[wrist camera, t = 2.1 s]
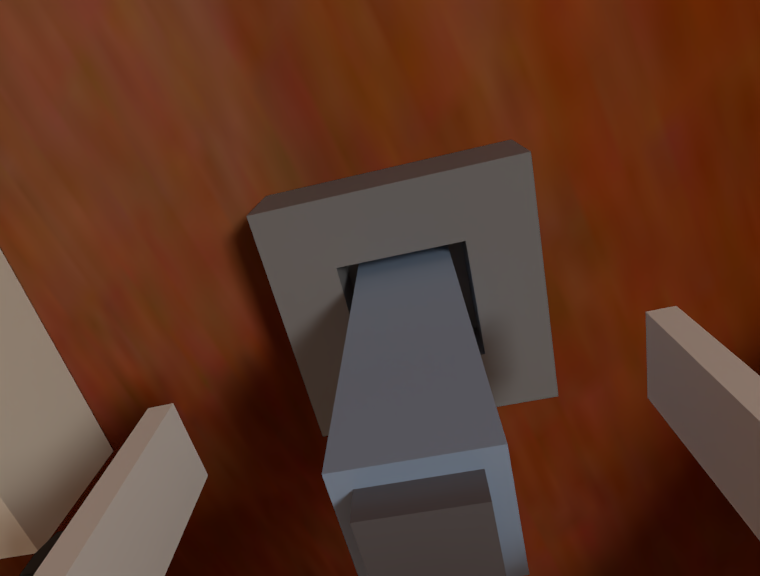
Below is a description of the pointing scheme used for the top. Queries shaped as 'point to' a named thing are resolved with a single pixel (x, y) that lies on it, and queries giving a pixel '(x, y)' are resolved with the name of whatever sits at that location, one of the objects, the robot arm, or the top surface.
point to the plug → (419, 431)
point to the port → (38, 428)
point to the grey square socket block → (409, 234)
